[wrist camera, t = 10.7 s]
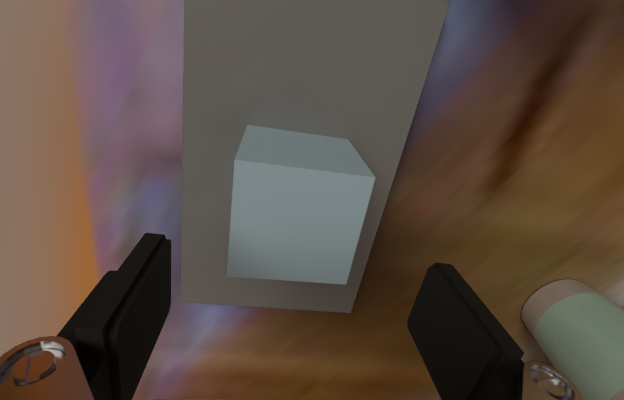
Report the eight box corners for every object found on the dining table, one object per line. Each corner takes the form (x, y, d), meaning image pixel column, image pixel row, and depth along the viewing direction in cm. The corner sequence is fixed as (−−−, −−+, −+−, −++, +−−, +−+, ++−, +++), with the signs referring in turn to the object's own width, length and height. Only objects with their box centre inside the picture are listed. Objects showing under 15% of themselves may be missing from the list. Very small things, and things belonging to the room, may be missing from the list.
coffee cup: (554, 347, 30) (705, 515, 20) (485, 327, 28) (614, 504, 17) (624, 281, 27) (850, 438, 16) (553, 252, 25) (762, 412, 14)
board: (346, 298, 25) (350, 313, 23) (186, 286, 23) (180, 301, 21) (436, 5, 16) (450, 1, 15) (193, -55, 14) (184, -66, 13)
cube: (329, 224, 20) (346, 284, 15) (239, 215, 19) (226, 276, 14) (348, 139, 18) (375, 177, 13) (247, 124, 17) (234, 159, 12)
